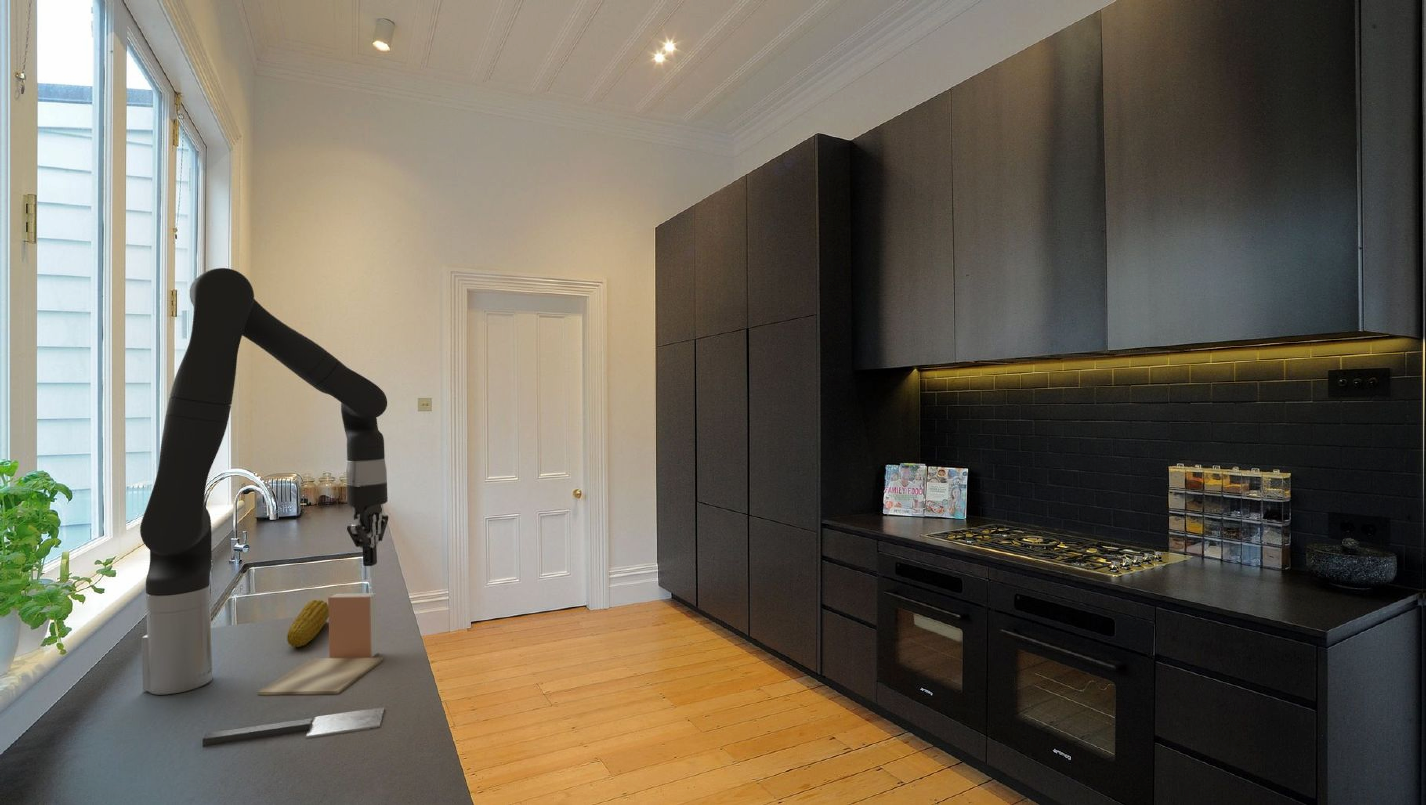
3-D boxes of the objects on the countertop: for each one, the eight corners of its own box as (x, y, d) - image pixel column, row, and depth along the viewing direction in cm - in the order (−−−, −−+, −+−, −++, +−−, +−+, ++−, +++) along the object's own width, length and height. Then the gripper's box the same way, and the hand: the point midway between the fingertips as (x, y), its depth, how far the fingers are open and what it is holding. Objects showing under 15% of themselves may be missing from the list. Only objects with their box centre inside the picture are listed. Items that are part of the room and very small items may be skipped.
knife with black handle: (196, 754, 105) (196, 746, 105) (213, 733, 111) (212, 725, 111) (379, 727, 112) (379, 719, 112) (384, 709, 119) (384, 701, 119)
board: (257, 694, 126) (257, 691, 126) (311, 660, 142) (311, 658, 142) (337, 693, 125) (337, 690, 125) (382, 659, 141) (382, 657, 141)
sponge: (329, 658, 143) (328, 597, 142) (338, 653, 146) (336, 593, 145) (370, 658, 142) (368, 597, 142) (377, 653, 145) (376, 593, 145)
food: (304, 624, 166) (304, 598, 166) (332, 621, 168) (331, 595, 168) (282, 654, 146) (281, 624, 146) (313, 651, 148) (313, 621, 148)
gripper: (365, 478, 157) (368, 558, 157) (331, 486, 144) (334, 573, 144) (399, 477, 157) (402, 557, 157) (368, 485, 144) (372, 572, 144)
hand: (370, 565), depth 151 cm, fingers closed
